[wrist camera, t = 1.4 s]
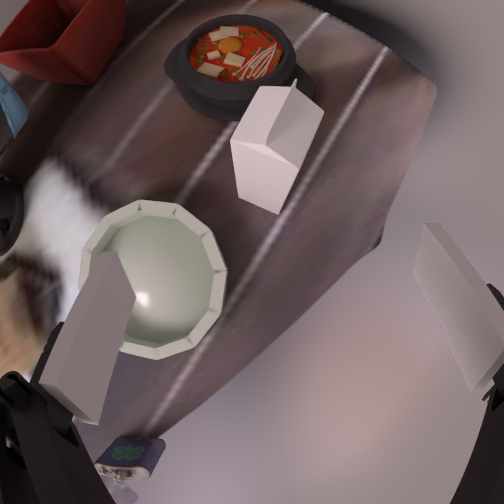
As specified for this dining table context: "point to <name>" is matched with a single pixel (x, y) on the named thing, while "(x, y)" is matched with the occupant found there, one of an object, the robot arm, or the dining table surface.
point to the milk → (273, 144)
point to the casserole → (234, 65)
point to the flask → (130, 458)
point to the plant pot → (64, 39)
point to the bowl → (162, 275)
